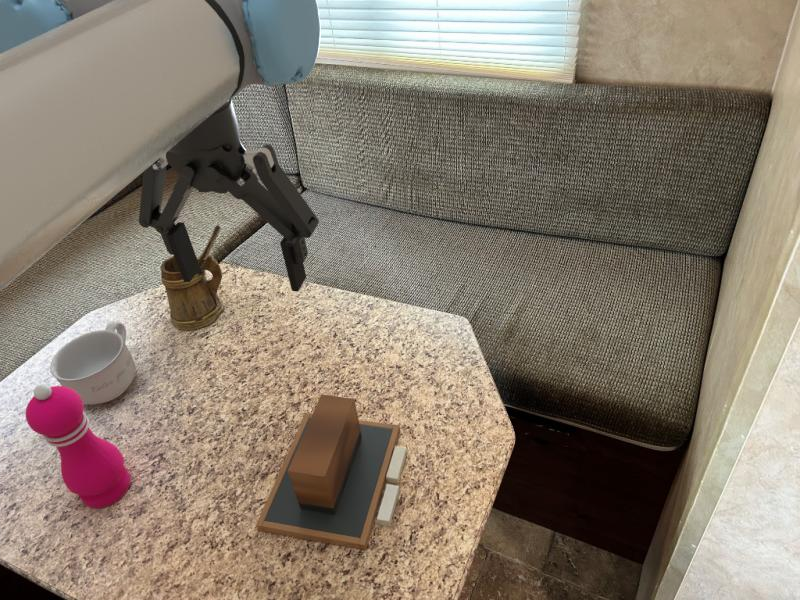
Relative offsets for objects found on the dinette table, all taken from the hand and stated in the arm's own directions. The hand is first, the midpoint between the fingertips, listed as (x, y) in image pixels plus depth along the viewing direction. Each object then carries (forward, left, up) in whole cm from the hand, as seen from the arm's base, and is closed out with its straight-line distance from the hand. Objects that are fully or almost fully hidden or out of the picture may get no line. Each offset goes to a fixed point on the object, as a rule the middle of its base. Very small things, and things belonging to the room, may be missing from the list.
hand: (244, 279), depth 70 cm
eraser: (-7, -9, -26) cm, 28 cm away
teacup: (+4, +32, -27) cm, 42 cm away
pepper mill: (-14, +21, -27) cm, 37 cm away
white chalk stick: (-4, -16, -26) cm, 31 cm away
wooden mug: (+22, +24, -27) cm, 42 cm away
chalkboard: (-7, -9, -27) cm, 29 cm away
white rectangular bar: (-10, -16, -26) cm, 32 cm away
